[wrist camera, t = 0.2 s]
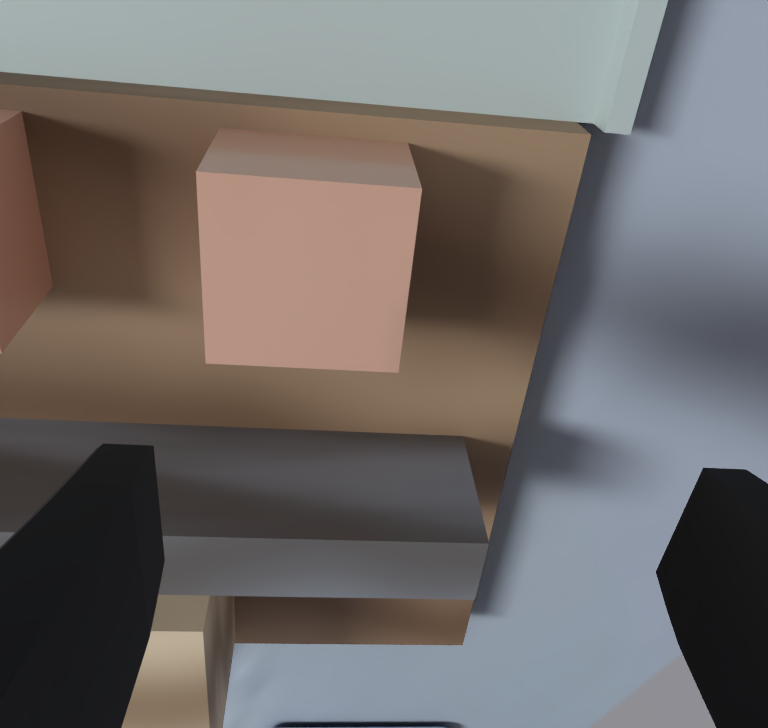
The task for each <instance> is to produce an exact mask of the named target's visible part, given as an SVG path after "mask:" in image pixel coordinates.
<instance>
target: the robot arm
mask: <svg viewBox="0 0 768 728" xmlns="http://www.w3.org/2000/svg"><path fill="white" fill-rule="evenodd" d="M164 562H165V556H164V546H163V536H162V526H161V515H160V505H159V495H158V485H157V475H156V464H155V454H154V446H153V445H129V444H104V443H103V444H102V445H101V446H99V447H98V448H97V449H96V450H94V451H93V453H92V454H91V455H90V456H89V457H88V458H87V459H86V460H85V461H84V462H83V463H82V464H81V465H80V466H79V467H78V468H77V469H76V470H75V471H74V473H73V474H72V475H71V476H70V477H69V478H68V479H67V480H66V481H65V482H64V483H63V484H62V485H61V486H60V487H59V488H58V489H57V490H56V492H55V493H54V494H53V495H52V496H51V497H50V498H49V499H48V500H47V501H46V502H45V503H44V504H43V505H42V506H41V507H40V508H39V509H38V510H37V511H36V512H35V513H34V514H33V515H32V516H31V517H30V518H29V519H28V520H27V521H26V522H25V523H24V524H23V525H22V526H21V527H20V528H19V529H18V530H17V531H16V532H15V533H14V534H13V535H12V536H11V537H10V538H9V539H8V540H7V541H6V542H5V543H4V544H3V545H2V546H1V547H0V728H121V727H122V724H123V721H124V718H125V714H126V711H127V708H128V705H129V702H130V699H131V696H132V692H133V689H134V686H135V683H136V680H137V676H138V673H139V670H140V667H141V664H142V660H143V657H144V654H145V651H146V647H147V644H148V641H149V638H150V633H151V628H152V623H153V619H154V614H155V609H156V604H157V599H158V594H159V588H160V583H161V578H162V573H163V567H164ZM656 574H657V577H658V581H659V584H660V588H661V591H662V594H663V598H664V601H665V605H666V608H667V611H668V614H669V617H670V620H671V623H672V626H673V629H674V632H675V635H676V638H677V641H678V644H679V646H680V649H681V651H682V653H683V656H684V658H685V660H686V662H687V665H688V667H689V669H690V671H691V673H692V676H693V678H694V680H695V682H696V684H697V687H698V689H699V690H700V693H701V695H702V698H703V700H704V702H705V704H706V706H707V708H708V710H709V713H710V715H711V717H712V719H713V721H714V723H715V726H716V728H768V484H767V483H766V482H764V481H763V480H761V479H760V478H758V477H757V476H755V475H754V474H752V473H751V472H749V471H747V470H743V469H719V468H703V470H702V472H701V474H700V476H699V478H698V481H697V483H696V485H695V487H694V489H693V492H692V494H691V496H690V498H689V500H688V503H687V505H686V507H685V509H684V511H683V514H682V516H681V518H680V520H679V522H678V524H677V527H676V529H675V531H674V533H673V535H672V538H671V540H670V542H669V544H668V546H667V549H666V551H665V553H664V555H663V557H662V560H661V562H660V564H659V566H658V568H657V571H656ZM277 728H446V727H277Z"/></svg>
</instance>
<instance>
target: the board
mask: <svg viewBox="0 0 768 728" xmlns="http://www.w3.org/2000/svg"><path fill="white" fill-rule="evenodd" d="M0 109H2V110H14V111H22V116H23V121H24V127H25V132H26V138H27V143H28V149H29V155H30V160H31V166H32V171H33V177H34V183H35V188H36V194H37V199H38V205H39V211H40V216H41V222H42V227H43V233H44V239H45V244H46V250H47V255H48V261H49V266H50V272H51V278H52V283H53V287H52V288H51V290H50V291H49V292H48V294H47V295H46V296H45V297H44V299H43V300H42V301H41V303H40V304H39V305H38V307H37V308H36V309H35V311H34V312H33V313H32V314H31V316H30V317H29V318H28V320H27V321H26V322H25V324H24V325H23V326H22V328H21V329H20V330H19V331H18V333H17V334H16V335H15V337H14V338H13V339H12V341H11V342H10V343H9V345H8V346H7V347H6V348H5V350H4V351H3V352H2V354H0V418H19V419H45V420H70V421H95V422H121V423H146V424H171V425H196V426H222V427H247V428H272V429H297V430H323V431H348V432H373V433H399V434H424V435H449V436H463V438H464V442H465V446H466V450H467V455H468V459H469V463H470V467H471V471H472V475H473V479H474V483H475V487H476V491H477V496H478V500H479V504H480V508H481V512H482V516H483V520H484V524H485V528H486V533H487V537H488V541H489V538H490V534H491V530H492V526H493V522H494V518H495V514H496V510H497V506H498V502H499V498H500V494H501V490H502V487H503V483H504V479H505V475H506V471H507V467H508V463H509V459H510V455H511V451H512V447H513V443H514V439H515V435H516V431H517V427H518V423H519V419H520V415H521V411H522V407H523V403H524V399H525V395H526V392H527V388H528V384H529V380H530V376H531V372H532V368H533V364H534V360H535V356H536V352H537V348H538V344H539V340H540V336H541V332H542V328H543V324H544V320H545V316H546V312H547V308H548V304H549V301H550V297H551V293H552V289H553V285H554V281H555V277H556V273H557V269H558V265H559V261H560V257H561V253H562V249H563V245H564V241H565V237H566V233H567V229H568V225H569V221H570V217H571V213H572V210H573V206H574V202H575V198H576V194H577V190H578V186H579V182H580V178H581V174H582V170H583V166H584V162H585V158H586V154H587V150H588V146H589V142H590V138H591V134H590V133H589V132H588V131H587V130H585V129H584V128H583V127H582V126H581V125H580V124H578V123H577V122H569V121H558V120H547V119H535V118H524V117H512V116H501V115H489V114H478V113H467V112H455V111H444V110H432V109H421V108H409V107H398V106H387V105H375V104H364V103H352V102H341V101H330V100H318V99H307V98H295V97H284V96H272V95H261V94H250V93H238V92H227V91H215V90H204V89H192V88H181V87H170V86H158V85H147V84H135V83H124V82H112V81H101V80H90V79H78V78H67V77H55V76H44V75H32V74H21V73H10V72H0ZM220 127H221V128H233V129H245V130H257V131H269V132H282V133H294V134H306V135H318V136H330V137H342V138H354V139H367V140H379V141H391V142H403V143H408V145H409V148H410V152H411V155H412V158H413V161H414V164H415V167H416V171H417V174H418V177H419V180H420V183H421V187H422V194H421V201H420V209H419V217H418V225H417V232H416V240H415V248H414V256H413V263H412V271H411V279H410V287H409V295H408V302H407V310H406V318H405V326H404V333H403V341H402V349H401V357H400V364H399V372H398V373H391V372H371V371H350V370H329V369H309V368H288V367H267V366H247V365H226V364H206V361H205V342H204V322H203V302H202V282H201V263H200V243H199V223H198V203H197V183H196V170H197V169H198V167H199V165H200V163H201V161H202V159H203V158H204V156H205V154H206V152H207V150H208V148H209V147H210V145H211V143H212V141H213V139H214V138H215V136H216V134H217V132H218V130H219V128H220ZM234 600H235V633H236V634H235V641H234V643H278V644H394V645H463V641H464V637H465V633H466V629H467V625H468V621H469V617H470V613H471V609H472V605H473V601H474V600H461V599H395V598H330V597H265V596H234Z"/></svg>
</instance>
